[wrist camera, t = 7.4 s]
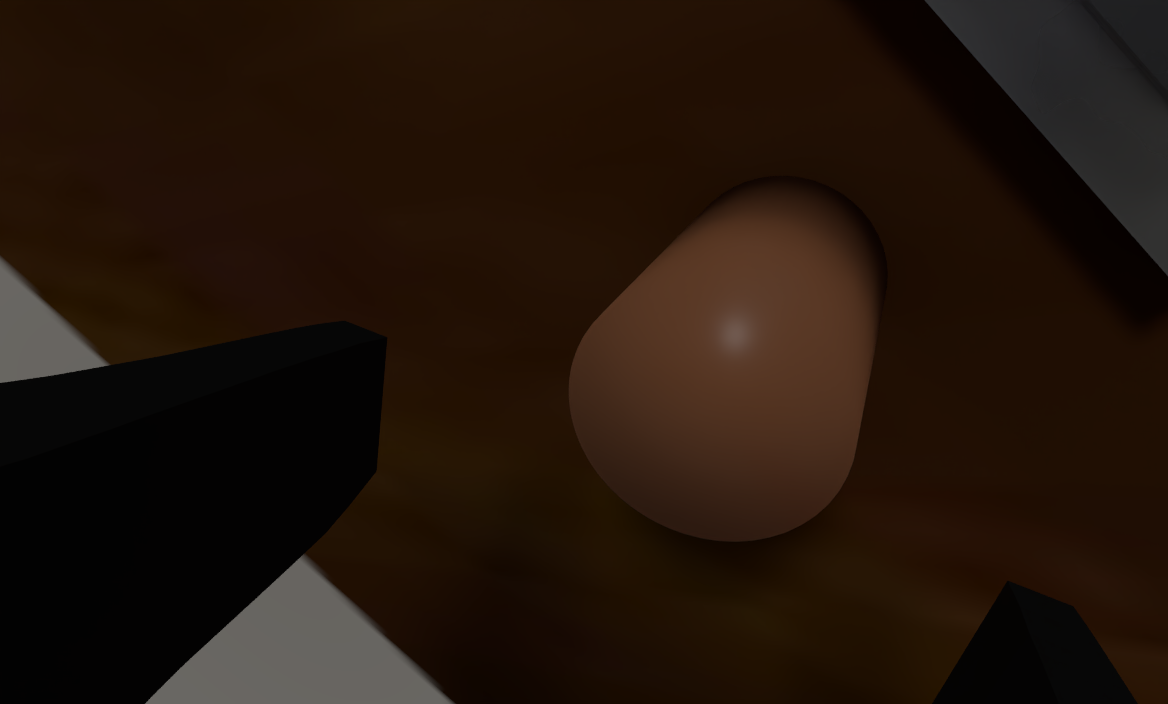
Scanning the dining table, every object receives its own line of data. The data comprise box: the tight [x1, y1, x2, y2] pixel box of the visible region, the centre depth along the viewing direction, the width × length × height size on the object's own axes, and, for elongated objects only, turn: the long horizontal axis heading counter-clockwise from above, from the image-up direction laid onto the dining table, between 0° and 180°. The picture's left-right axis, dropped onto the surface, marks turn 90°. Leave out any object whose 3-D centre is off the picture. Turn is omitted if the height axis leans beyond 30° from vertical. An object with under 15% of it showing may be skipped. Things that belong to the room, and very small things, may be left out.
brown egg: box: [569, 176, 888, 542], centre depth 14 cm, size 4×4×6 cm
